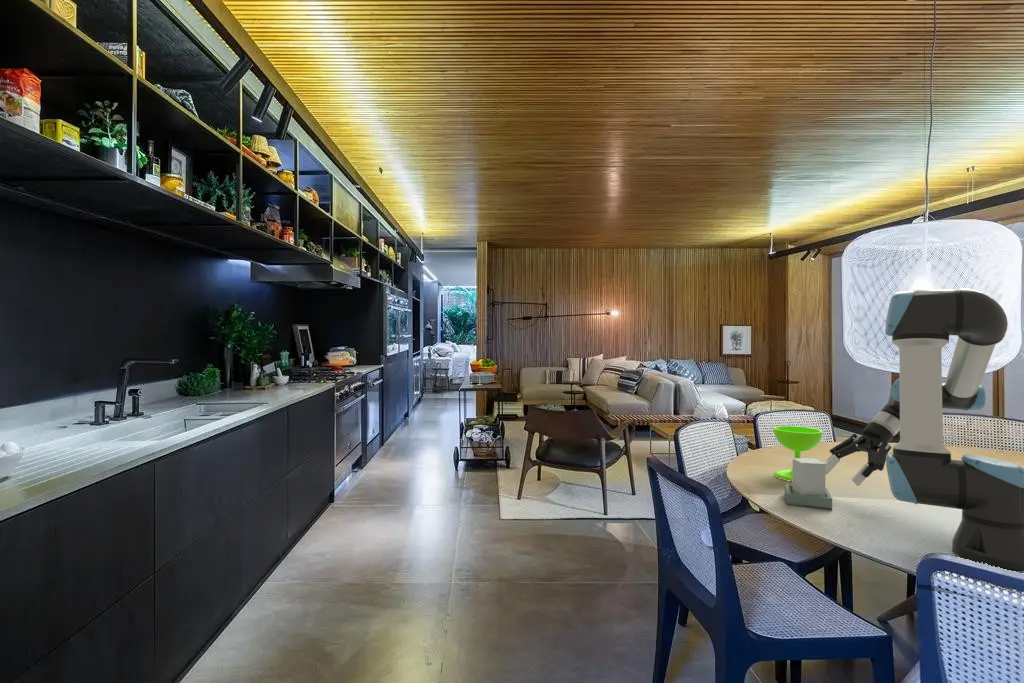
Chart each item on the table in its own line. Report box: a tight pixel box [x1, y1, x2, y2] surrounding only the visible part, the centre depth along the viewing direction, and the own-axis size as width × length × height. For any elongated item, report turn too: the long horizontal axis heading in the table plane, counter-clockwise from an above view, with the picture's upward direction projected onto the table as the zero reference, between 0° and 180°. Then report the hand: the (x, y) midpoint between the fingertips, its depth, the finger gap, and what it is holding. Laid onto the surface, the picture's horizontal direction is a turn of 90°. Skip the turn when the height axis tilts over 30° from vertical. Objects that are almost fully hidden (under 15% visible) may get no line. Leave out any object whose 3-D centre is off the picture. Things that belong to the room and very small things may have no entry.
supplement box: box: [792, 457, 826, 497], centre depth 167 cm, size 7×7×13 cm
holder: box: [784, 483, 833, 511], centre depth 167 cm, size 12×12×4 cm
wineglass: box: [773, 425, 823, 481], centre depth 197 cm, size 16×16×18 cm
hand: (838, 477), depth 168 cm, fingers open, 13 cm apart
